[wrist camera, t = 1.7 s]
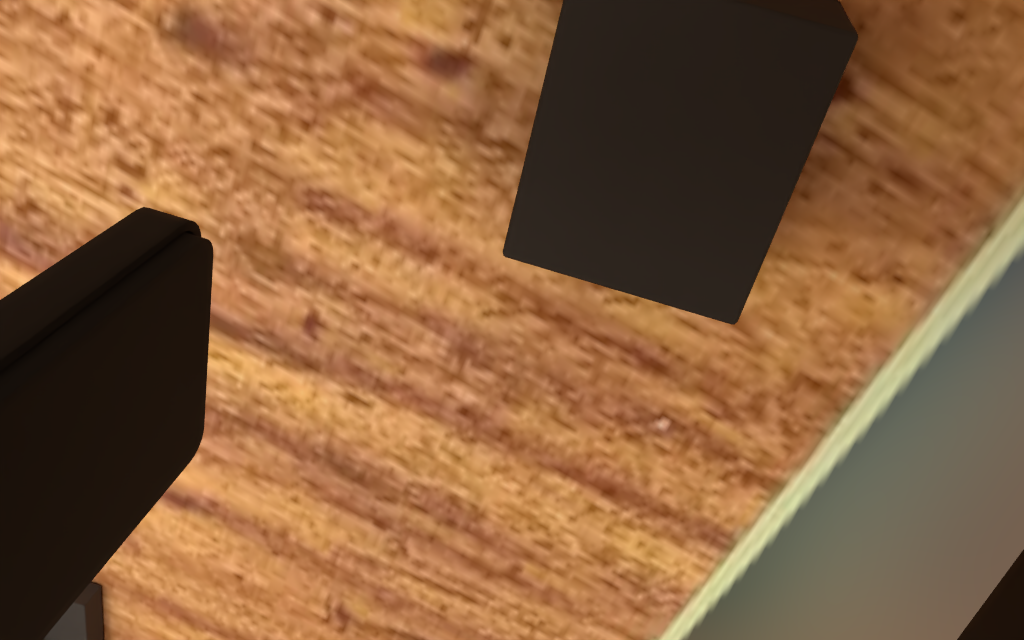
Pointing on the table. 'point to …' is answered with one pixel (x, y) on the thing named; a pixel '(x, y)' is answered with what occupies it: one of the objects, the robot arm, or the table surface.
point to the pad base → (81, 618)
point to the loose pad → (674, 142)
